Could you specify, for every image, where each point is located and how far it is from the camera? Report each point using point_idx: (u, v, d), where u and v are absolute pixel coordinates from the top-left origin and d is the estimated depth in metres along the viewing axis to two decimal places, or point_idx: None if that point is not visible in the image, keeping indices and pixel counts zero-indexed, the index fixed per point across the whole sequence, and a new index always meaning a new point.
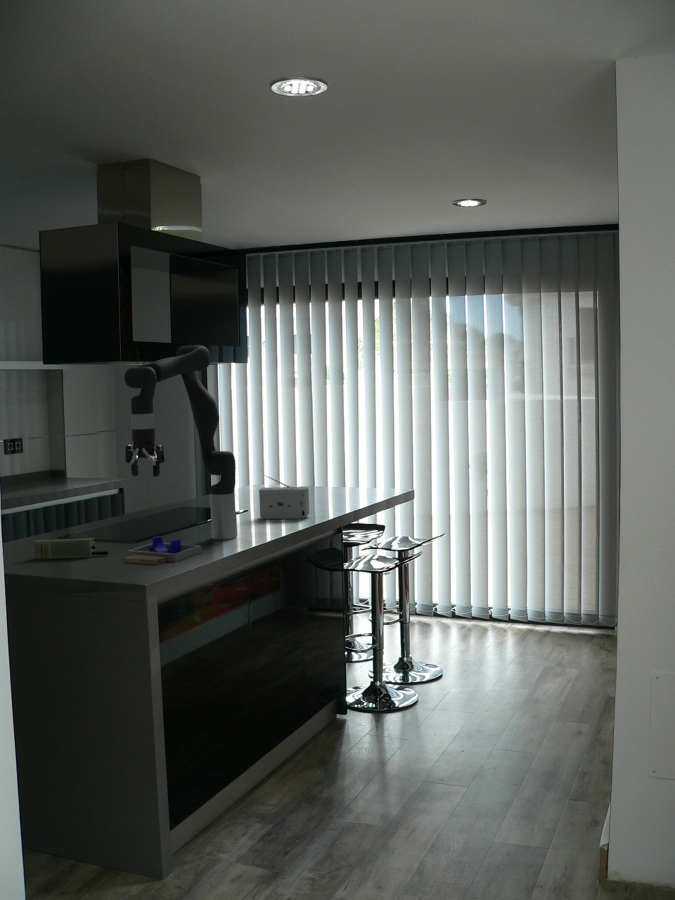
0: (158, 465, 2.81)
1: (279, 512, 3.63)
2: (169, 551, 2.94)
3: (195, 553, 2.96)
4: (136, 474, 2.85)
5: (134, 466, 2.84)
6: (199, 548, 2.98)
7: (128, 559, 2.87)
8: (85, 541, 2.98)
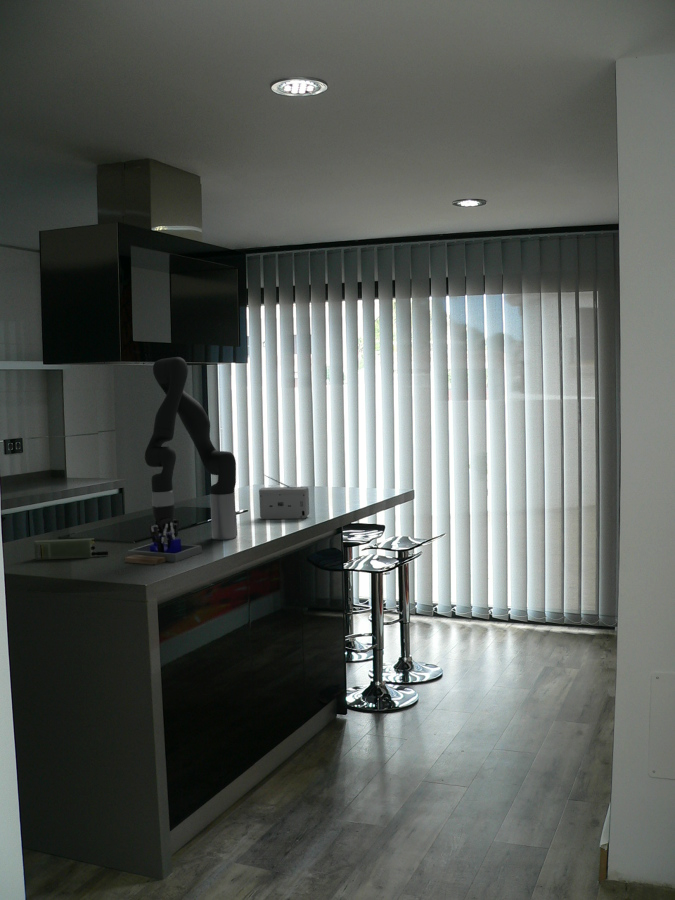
0: None
1: (279, 511, 3.63)
2: (169, 550, 2.94)
3: (195, 553, 2.96)
4: None
5: None
6: (199, 548, 2.98)
7: (128, 559, 2.87)
8: (85, 541, 2.97)
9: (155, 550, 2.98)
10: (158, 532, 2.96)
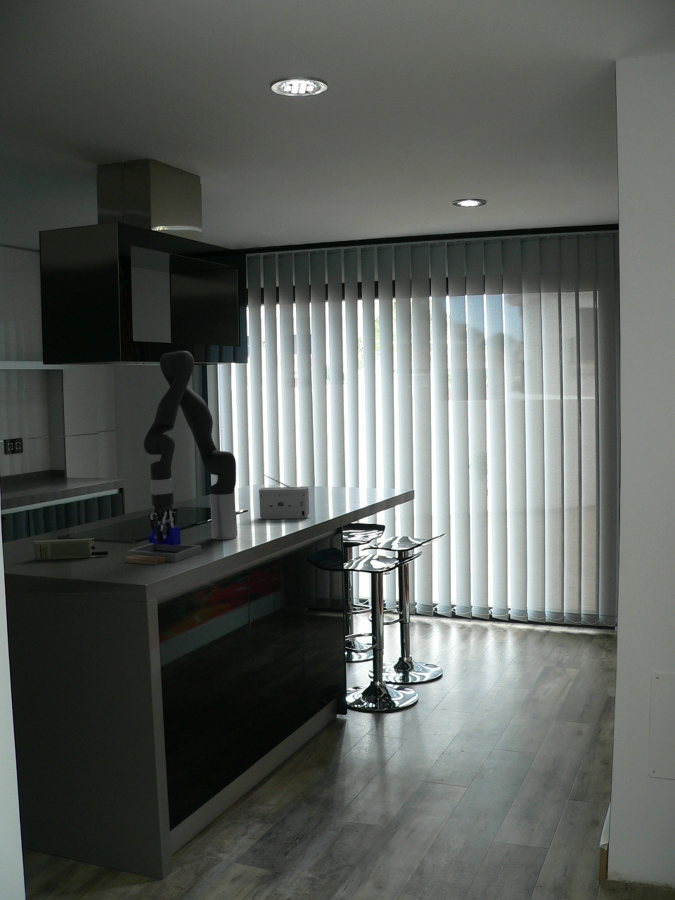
0: None
1: (279, 511, 3.63)
2: (168, 538, 2.94)
3: (195, 553, 2.96)
4: None
5: None
6: (199, 548, 2.98)
7: (128, 559, 2.87)
8: (85, 541, 2.97)
9: (154, 538, 2.97)
10: (157, 520, 2.95)
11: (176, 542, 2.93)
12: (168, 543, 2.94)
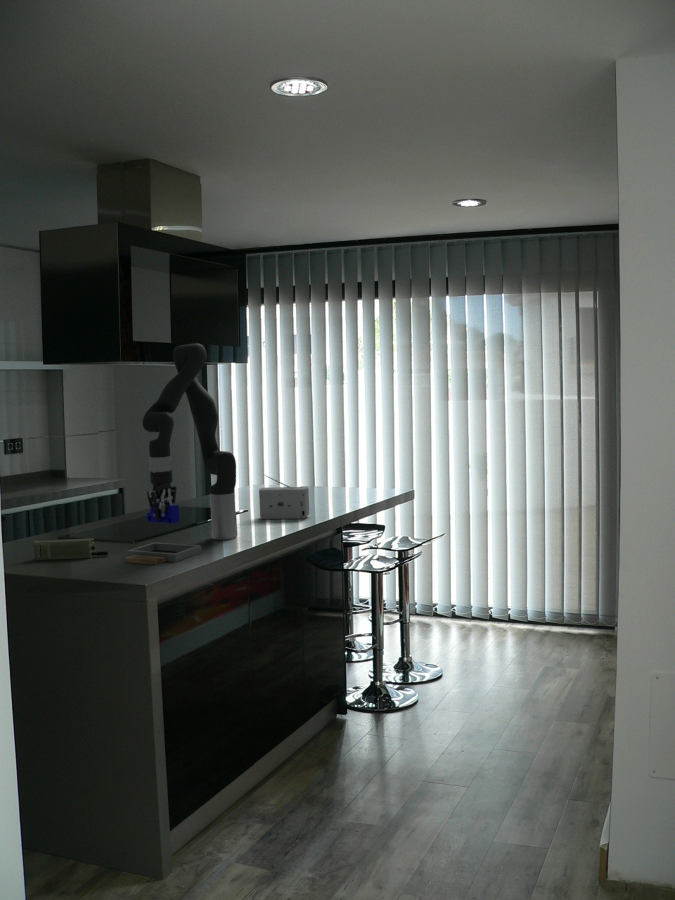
0: None
1: (279, 511, 3.63)
2: (167, 516, 2.93)
3: (195, 553, 2.96)
4: None
5: None
6: (199, 548, 2.98)
7: (128, 559, 2.87)
8: (85, 541, 2.97)
9: (152, 516, 2.96)
10: (156, 498, 2.94)
11: (174, 520, 2.92)
12: (166, 521, 2.93)
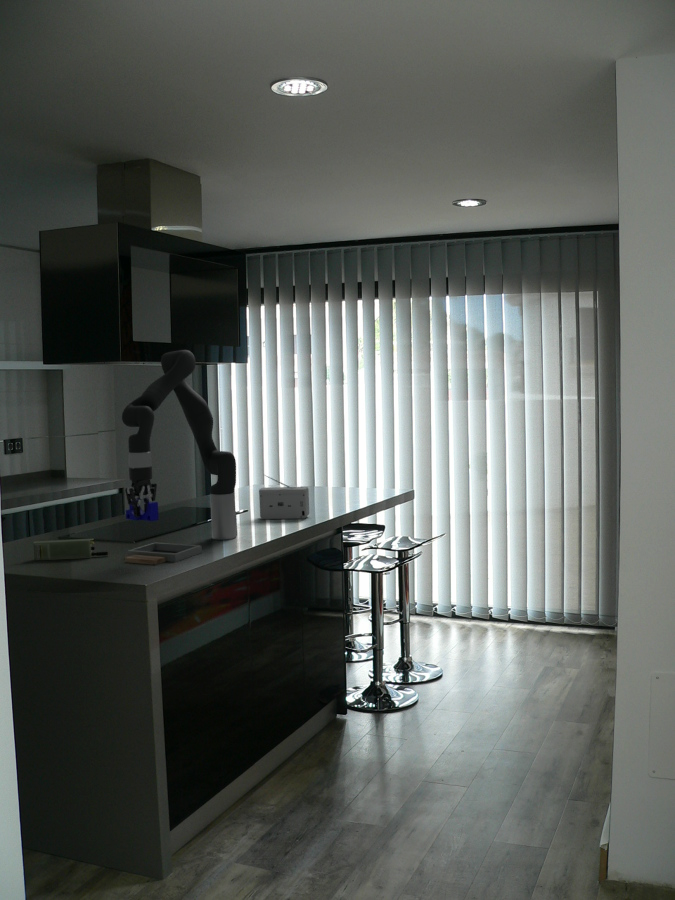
0: None
1: (279, 511, 3.63)
2: (146, 514, 2.83)
3: (195, 553, 2.96)
4: None
5: None
6: (199, 548, 2.98)
7: (128, 559, 2.87)
8: (85, 541, 2.96)
9: (131, 514, 2.86)
10: (134, 495, 2.84)
11: (153, 518, 2.82)
12: (145, 519, 2.84)
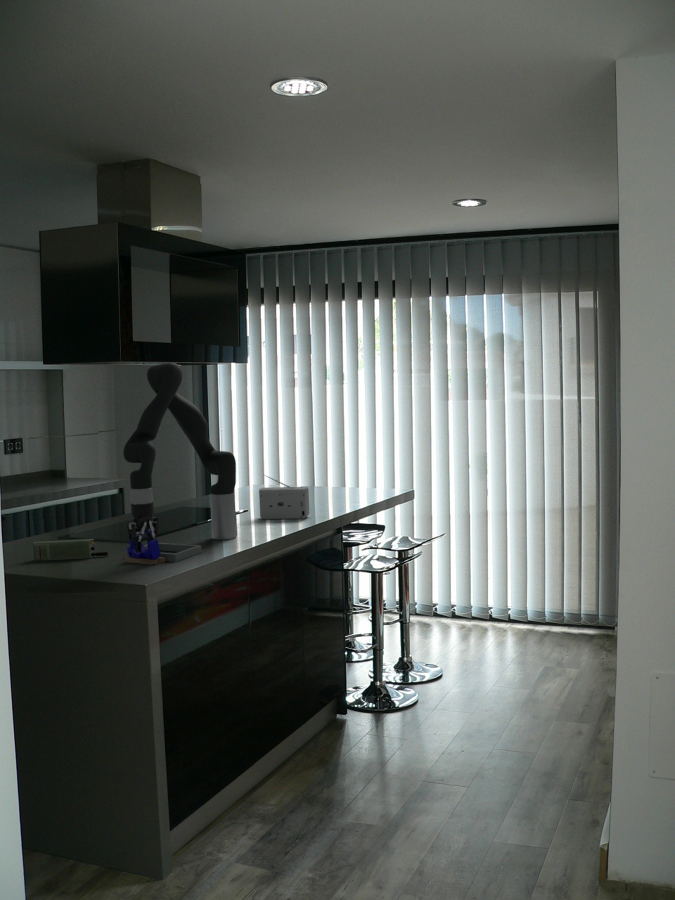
0: None
1: (279, 511, 3.63)
2: (148, 552, 2.84)
3: (195, 553, 2.96)
4: None
5: None
6: (199, 548, 2.98)
7: (128, 559, 2.87)
8: (85, 542, 2.96)
9: (133, 552, 2.87)
10: (136, 530, 2.85)
11: (156, 555, 2.84)
12: (148, 557, 2.85)
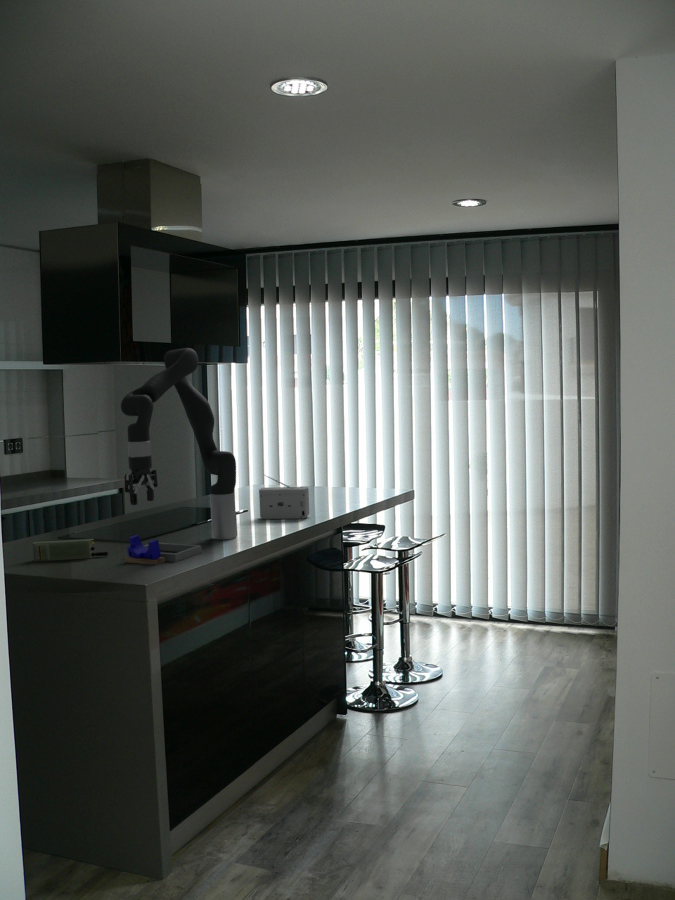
0: None
1: (279, 511, 3.63)
2: (148, 552, 2.84)
3: (195, 553, 2.96)
4: None
5: None
6: (199, 548, 2.98)
7: (128, 559, 2.87)
8: (85, 542, 2.96)
9: (133, 552, 2.87)
10: (133, 483, 2.83)
11: (156, 556, 2.84)
12: (148, 557, 2.85)
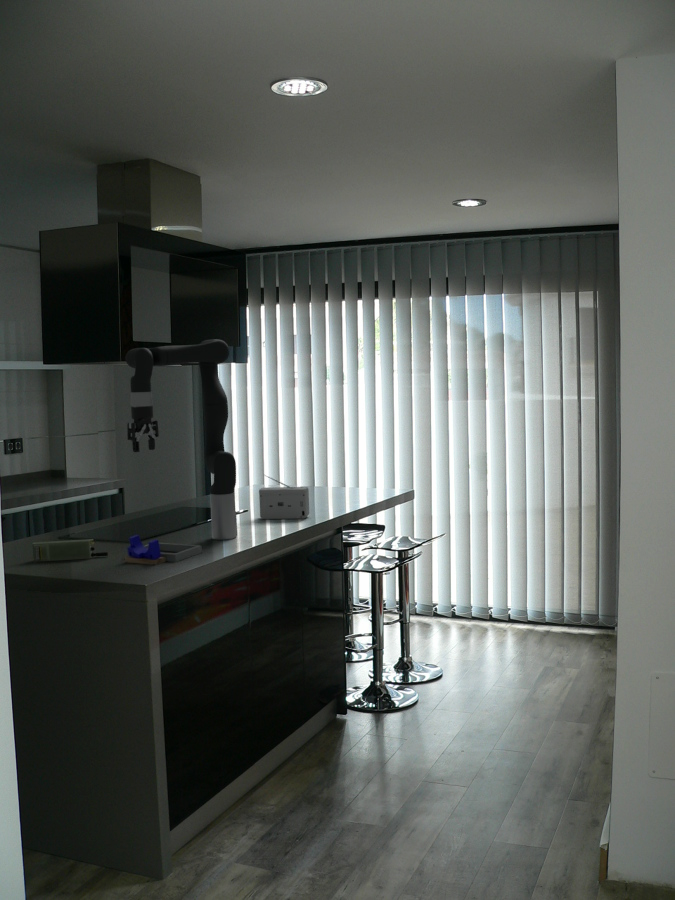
0: None
1: (279, 511, 3.63)
2: (148, 552, 2.84)
3: (195, 553, 2.96)
4: None
5: None
6: (199, 548, 2.98)
7: (128, 559, 2.87)
8: (85, 542, 2.95)
9: (133, 552, 2.87)
10: (135, 432, 2.99)
11: (156, 556, 2.84)
12: (148, 557, 2.85)
